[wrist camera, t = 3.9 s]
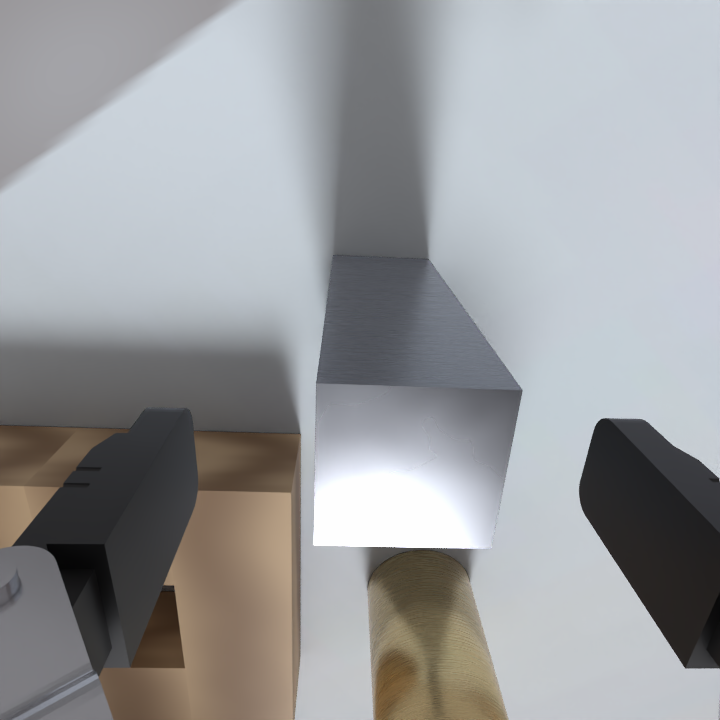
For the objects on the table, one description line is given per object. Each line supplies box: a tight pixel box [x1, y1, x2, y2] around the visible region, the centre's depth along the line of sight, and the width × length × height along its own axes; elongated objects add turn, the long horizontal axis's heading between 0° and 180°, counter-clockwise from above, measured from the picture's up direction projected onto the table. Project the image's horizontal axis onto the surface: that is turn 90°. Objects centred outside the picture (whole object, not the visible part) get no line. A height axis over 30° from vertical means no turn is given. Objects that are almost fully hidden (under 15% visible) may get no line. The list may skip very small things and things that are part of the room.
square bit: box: [314, 255, 522, 549], centre depth 14 cm, size 4×4×11 cm
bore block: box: [0, 425, 301, 720], centre depth 22 cm, size 14×14×4 cm
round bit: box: [368, 550, 508, 720], centre depth 20 cm, size 5×5×11 cm
